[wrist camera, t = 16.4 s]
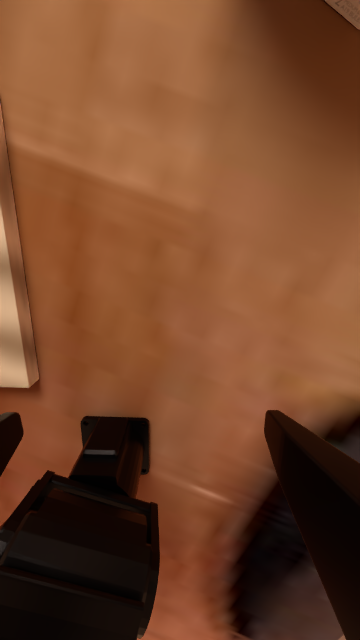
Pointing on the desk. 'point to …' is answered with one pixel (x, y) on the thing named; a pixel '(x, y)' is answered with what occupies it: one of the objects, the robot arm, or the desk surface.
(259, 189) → the desk surface
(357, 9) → the light bulb box
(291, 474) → the robot arm
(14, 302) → the birch board
